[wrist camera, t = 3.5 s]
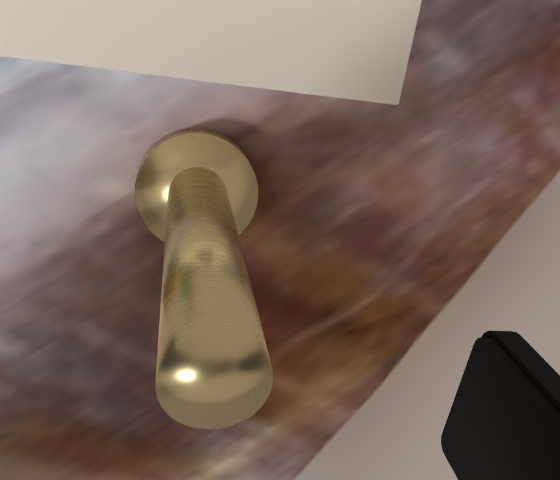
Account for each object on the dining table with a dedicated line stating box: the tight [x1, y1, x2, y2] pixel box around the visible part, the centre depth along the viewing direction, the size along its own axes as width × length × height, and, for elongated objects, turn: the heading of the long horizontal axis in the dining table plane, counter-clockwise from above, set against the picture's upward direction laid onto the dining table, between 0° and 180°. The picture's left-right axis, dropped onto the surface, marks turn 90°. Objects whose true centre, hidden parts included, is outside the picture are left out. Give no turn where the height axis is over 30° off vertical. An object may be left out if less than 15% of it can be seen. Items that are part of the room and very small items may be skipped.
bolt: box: [135, 129, 274, 429], centre depth 16 cm, size 5×5×13 cm
